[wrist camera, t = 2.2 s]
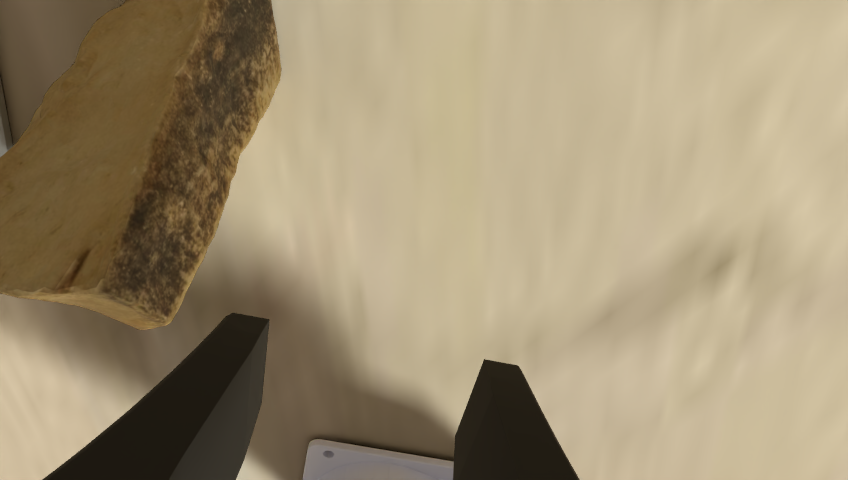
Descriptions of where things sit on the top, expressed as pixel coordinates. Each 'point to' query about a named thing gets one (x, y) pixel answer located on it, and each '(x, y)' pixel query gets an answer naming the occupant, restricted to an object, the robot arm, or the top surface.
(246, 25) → the rock
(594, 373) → the top surface
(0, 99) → the mat
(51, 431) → the top surface
